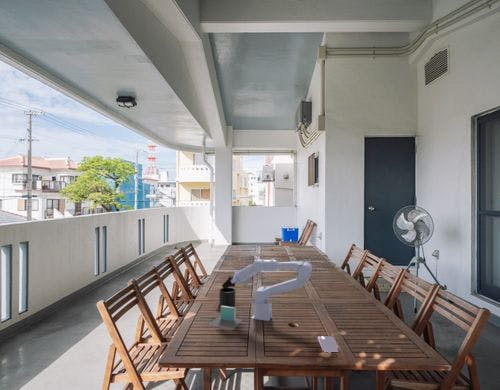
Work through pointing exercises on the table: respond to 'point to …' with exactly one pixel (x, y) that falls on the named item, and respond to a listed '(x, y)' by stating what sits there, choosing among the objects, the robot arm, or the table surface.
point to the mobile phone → (328, 344)
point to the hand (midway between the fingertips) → (225, 285)
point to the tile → (228, 313)
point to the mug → (227, 297)
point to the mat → (225, 323)
